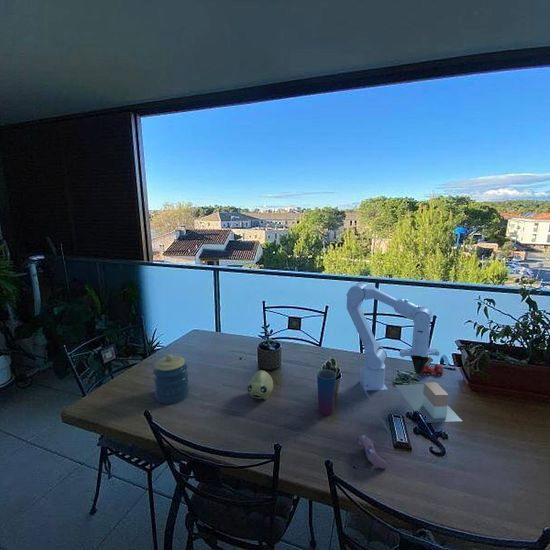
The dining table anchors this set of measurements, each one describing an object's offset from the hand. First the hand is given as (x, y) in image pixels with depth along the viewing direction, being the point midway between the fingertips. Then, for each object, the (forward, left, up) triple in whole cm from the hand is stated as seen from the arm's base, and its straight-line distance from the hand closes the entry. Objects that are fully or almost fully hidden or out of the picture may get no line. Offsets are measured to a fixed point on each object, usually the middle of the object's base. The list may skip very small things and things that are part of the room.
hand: (417, 372), depth 125 cm
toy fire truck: (+13, +17, -11) cm, 24 cm away
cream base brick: (+2, -10, -10) cm, 14 cm away
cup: (-37, -7, -11) cm, 39 cm away
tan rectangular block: (+2, -10, -5) cm, 11 cm away
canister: (-96, +7, -11) cm, 97 cm away
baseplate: (+2, -4, -10) cm, 11 cm away
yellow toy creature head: (-61, +3, -11) cm, 62 cm away
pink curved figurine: (-28, -30, -11) cm, 42 cm away
